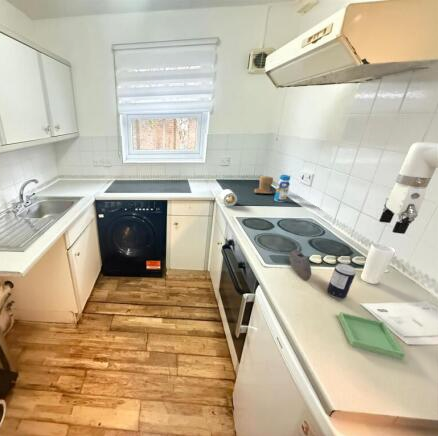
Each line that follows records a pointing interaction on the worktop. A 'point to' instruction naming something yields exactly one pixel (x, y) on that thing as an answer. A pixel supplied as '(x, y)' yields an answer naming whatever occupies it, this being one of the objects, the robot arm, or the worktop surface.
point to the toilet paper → (231, 200)
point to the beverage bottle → (282, 188)
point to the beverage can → (341, 281)
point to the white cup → (377, 262)
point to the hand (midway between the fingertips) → (391, 227)
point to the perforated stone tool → (300, 264)
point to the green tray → (370, 335)
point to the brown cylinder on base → (264, 185)
